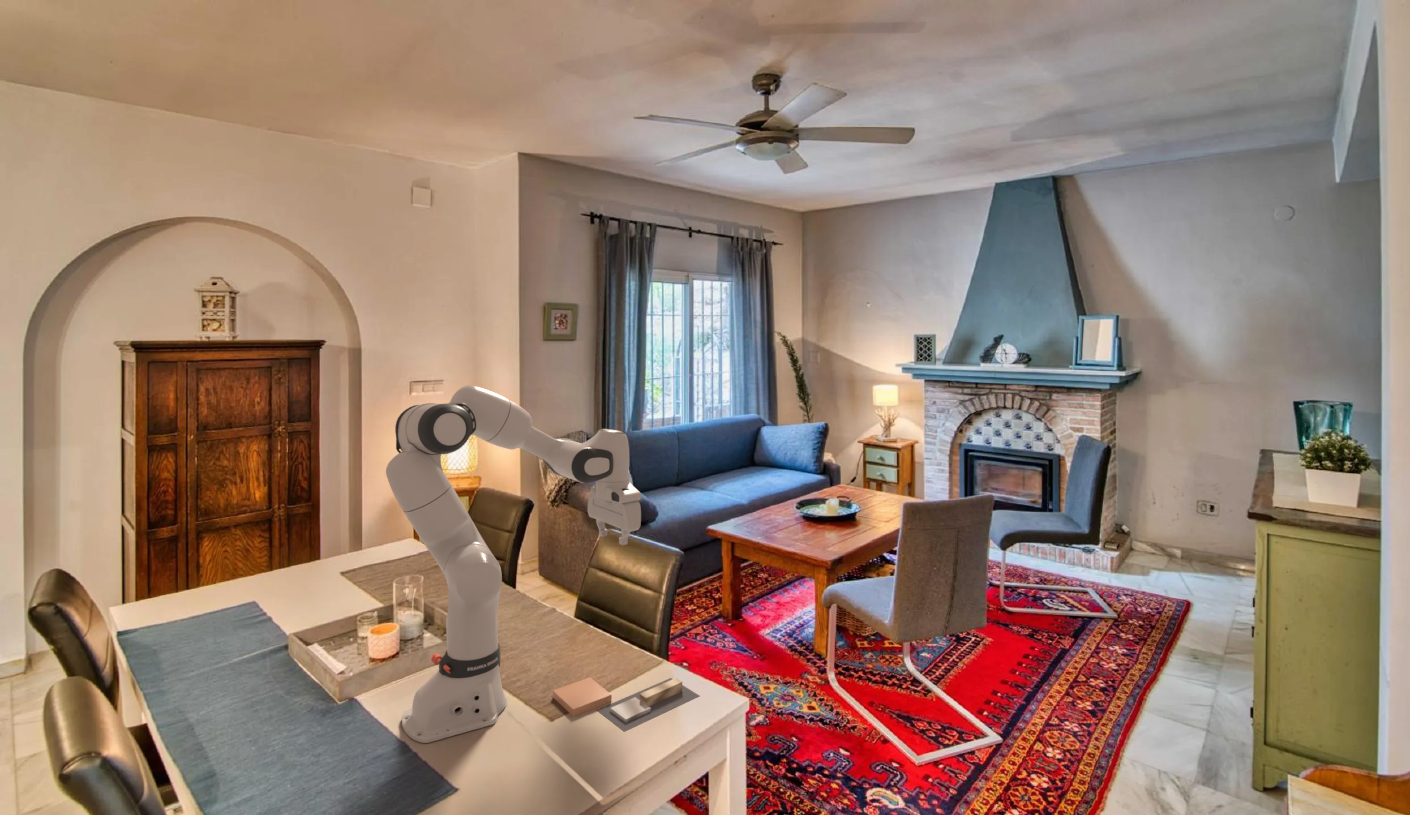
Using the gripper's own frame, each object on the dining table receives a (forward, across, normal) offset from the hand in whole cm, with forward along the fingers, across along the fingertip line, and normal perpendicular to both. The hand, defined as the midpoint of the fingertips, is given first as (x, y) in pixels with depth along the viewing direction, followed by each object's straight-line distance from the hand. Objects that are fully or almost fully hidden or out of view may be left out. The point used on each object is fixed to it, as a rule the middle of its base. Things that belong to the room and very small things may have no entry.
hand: (613, 539), depth 182 cm
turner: (+31, +28, -10) cm, 43 cm away
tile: (+30, +16, -15) cm, 38 cm away
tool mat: (+31, +28, -9) cm, 43 cm away
